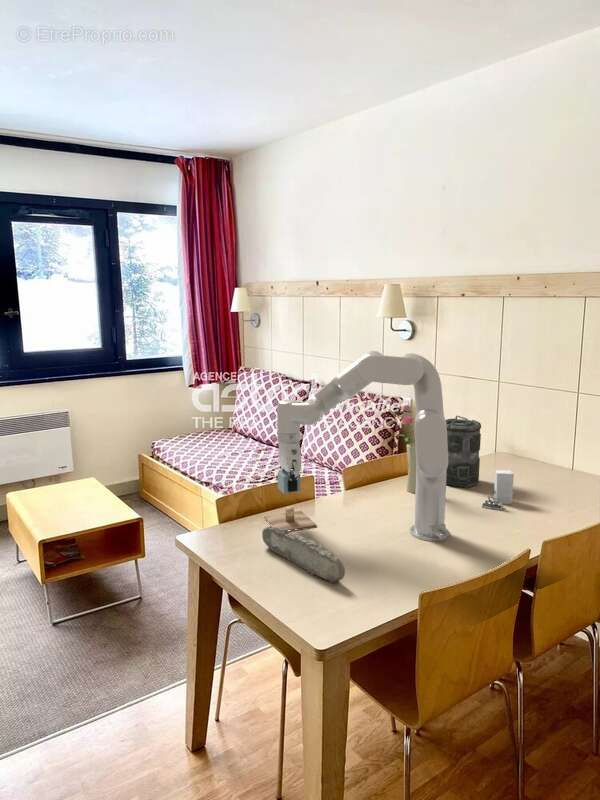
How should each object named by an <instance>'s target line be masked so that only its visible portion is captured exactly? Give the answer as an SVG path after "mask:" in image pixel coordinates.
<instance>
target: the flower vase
mask: <svg viewBox="0 0 600 800" xmlns="http://www.w3.org/2000/svg"><path fill="white" fill-rule="evenodd" d="M402 409H403V410H405V412H406V414H409V412H411V411H413V410H416V407H415V408H412V406H411V405H409V404H406V405H403V406H402ZM397 412H399V410H398V409H397ZM393 415H398V413H395V412H393ZM399 417H401V418H402V419H401V421H400V422H401V423H402V424H404V425H406V427H407V430H408V434H409V437H405V434H397V435H396V436H398V437H399V436H400V437H402V438H404V441H405V442H408V441H409V440H410V443H408V444H406V455H407V463H408V471H407V478H406V480H407V481H406V488H405V489H406V490H405V491H406V492H407V493H410V494H416V446H415V443H414V442H415V439H412V436H415V424H414V425H413V430H412V432H413V434H412V432H411V427H410V424H411V423H413V421H414V420H415V418H414V417H413V416H410V415H405V416H404V417H402V415H399Z"/></svg>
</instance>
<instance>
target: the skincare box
mask: <svg viewBox="0 0 600 800" xmlns="http://www.w3.org/2000/svg"><path fill="white" fill-rule="evenodd" d="M514 475H515V473H514V472H513V471H512V470H509V469H507V470H504V469H503V470H502V469H501V470H498V469H495V470H494V487H493V490H494V489H495V491H496V498H499V500H500V502H501V503H502V505H505V504H506V505H512V504H513V501H514V500H513V496H514V494H513V493H514V477H515V476H514ZM493 493H495V492H493ZM493 497H495V494H493ZM496 500H497V501H498V499H496Z"/></svg>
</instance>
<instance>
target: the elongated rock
mask: <svg viewBox="0 0 600 800" xmlns="http://www.w3.org/2000/svg"><path fill="white" fill-rule="evenodd" d="M261 535H262V536H261V537H262V541H263V543H264V544H265V545H266V546H267V547H268V549H269V550H271V551H272V552H274V553H276V554H278V555H279V556H281V557H282V556H283V557H282V558H284V557H285V559H286V558H287V559H286V560H288V561H289V562H292V563H293V564H295V565H297V566H298V567H300V568H301V569H304V570H306V571H307V572H308V573H310V575H311V576H317V577H319V578H321V579H323V580H326V581H328V582H330V583H331V584H332V583H335V582H339V581H341V580H343V579H344V577H345V574H346V568H345V565H344V563H343V562H342V561H341V560H340V558H339V557H338V556H337V555H335V554H334V553H333V551H331V550H329V549H327V548H326V547H325V546H323V544H322V545H321V544H320V543H318V542H317V541H316V540H314V539H312V538H311V539H309V538H307V537H304V536H302V535H299V534H296V533H293V532H292V531H287V530H283V529H281V528H278V527H274V526H273V527H272V526H271V525H269V526H266V527H264V528H263V530H262V534H261Z"/></svg>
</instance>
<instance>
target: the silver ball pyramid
mask: <svg viewBox="0 0 600 800" xmlns="http://www.w3.org/2000/svg"><path fill="white" fill-rule="evenodd" d="M493 491H494V492H495V493H494V492H490V494H491V495H490V496H487V498H486V499H485V500H484V502H483V503H482V505H481V507H482V508H483V509H490V510H494V511H502V510H504V504H502V503H501V502H500V500H499V498H496V491H495V489H494V488H493ZM494 494H495V497H494V496H493V495H494ZM496 499H498V501H497V500H496Z"/></svg>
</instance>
